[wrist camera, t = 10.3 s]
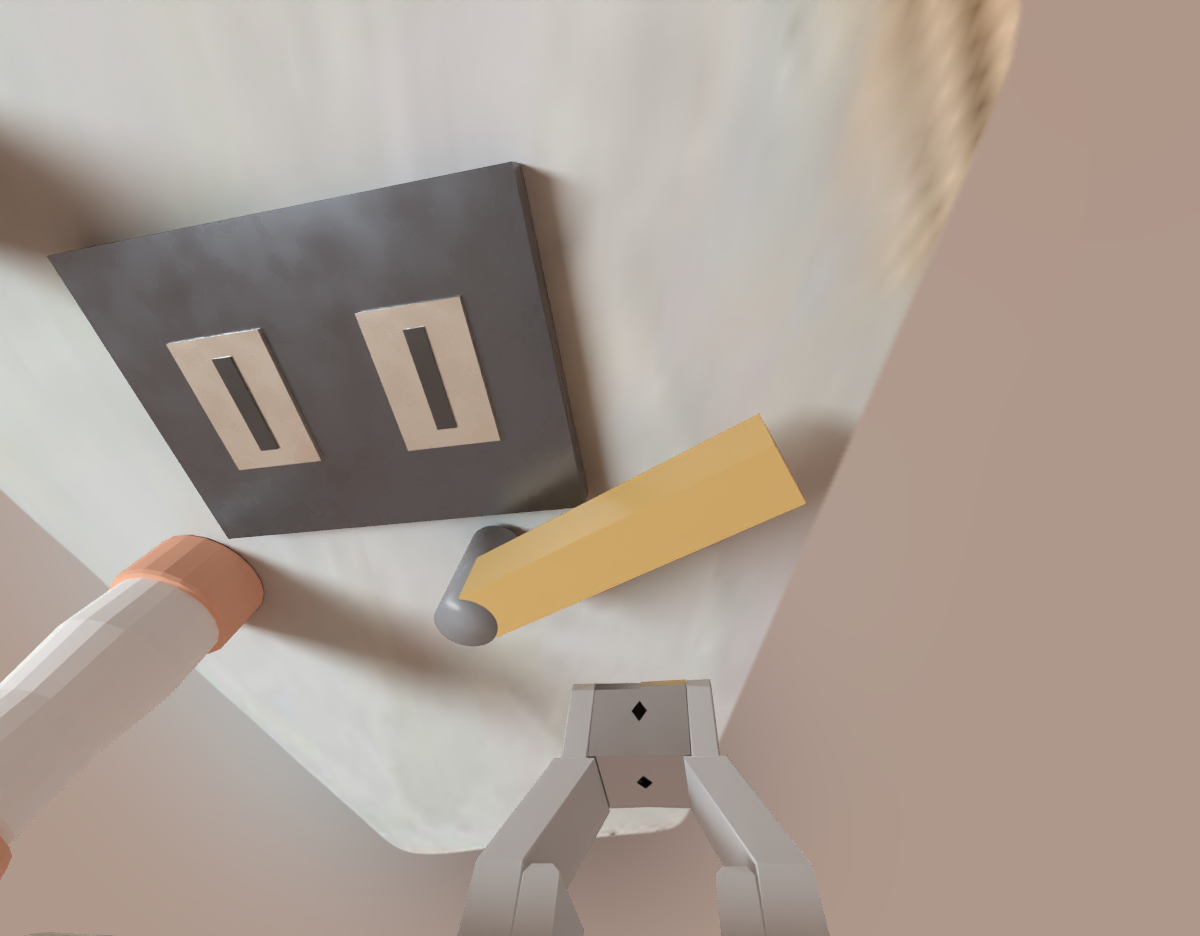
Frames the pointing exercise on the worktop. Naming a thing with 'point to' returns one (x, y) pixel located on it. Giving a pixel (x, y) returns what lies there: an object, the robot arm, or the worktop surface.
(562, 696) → the worktop surface
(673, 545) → the tan piece
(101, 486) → the worktop surface
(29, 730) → the pepper shaker
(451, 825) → the worktop surface
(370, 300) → the board
